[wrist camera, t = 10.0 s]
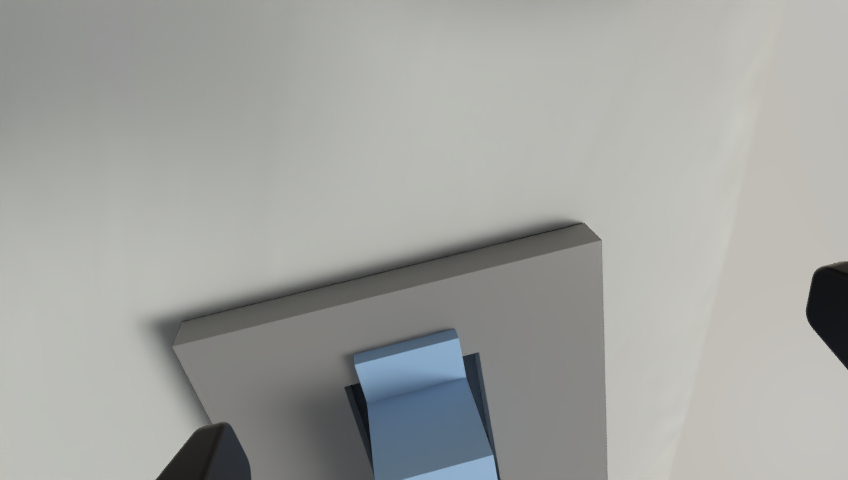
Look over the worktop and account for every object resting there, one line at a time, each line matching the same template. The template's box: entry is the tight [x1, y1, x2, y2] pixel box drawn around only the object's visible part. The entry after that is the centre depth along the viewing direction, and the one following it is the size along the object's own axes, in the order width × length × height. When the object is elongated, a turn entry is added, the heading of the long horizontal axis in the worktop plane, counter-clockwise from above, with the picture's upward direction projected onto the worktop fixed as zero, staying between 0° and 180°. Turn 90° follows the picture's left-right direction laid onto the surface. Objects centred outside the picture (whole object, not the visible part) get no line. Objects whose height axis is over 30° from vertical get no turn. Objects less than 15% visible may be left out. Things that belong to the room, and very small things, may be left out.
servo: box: [354, 329, 498, 480], centre depth 22 cm, size 4×11×7 cm, turn 11°
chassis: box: [172, 223, 608, 480], centre depth 24 cm, size 16×16×2 cm
